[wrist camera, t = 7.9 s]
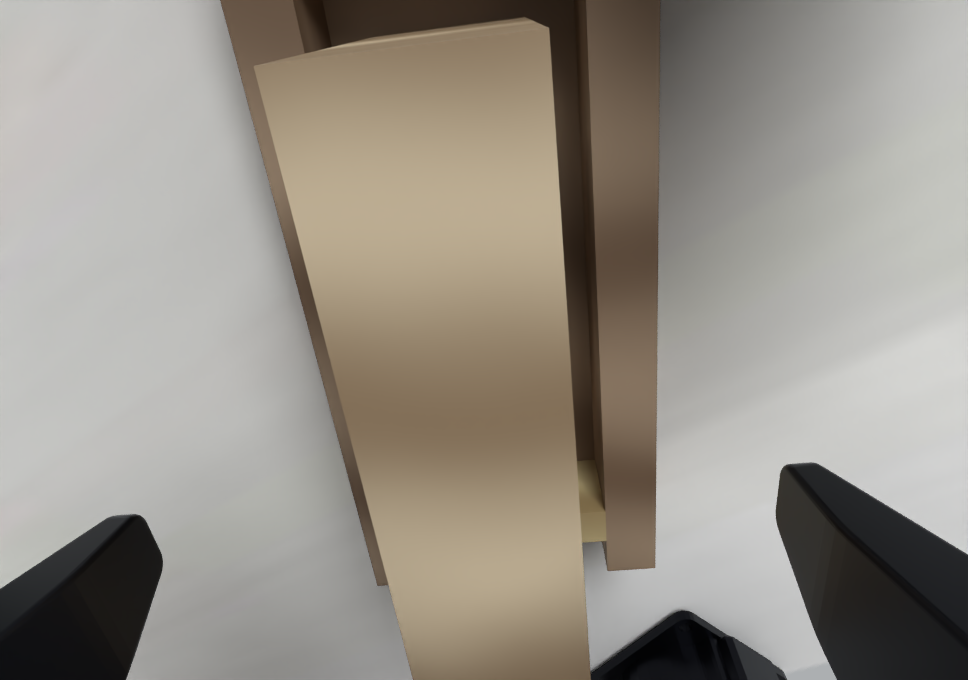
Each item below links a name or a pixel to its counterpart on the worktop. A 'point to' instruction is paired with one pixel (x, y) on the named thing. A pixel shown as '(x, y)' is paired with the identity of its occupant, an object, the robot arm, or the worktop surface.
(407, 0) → the walnut ledge
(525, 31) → the tan box
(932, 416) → the worktop surface
